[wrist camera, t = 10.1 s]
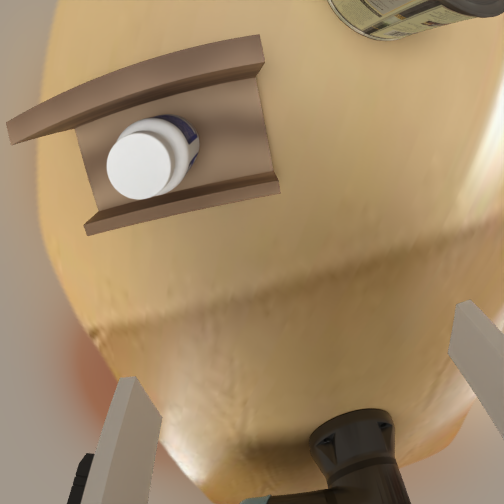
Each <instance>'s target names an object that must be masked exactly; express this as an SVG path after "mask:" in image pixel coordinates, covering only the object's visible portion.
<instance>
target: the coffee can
mask: <svg viewBox="0 0 504 504" xmlns="http://www.w3.org/2000/svg"><path fill="white" fill-rule="evenodd" d="M328 3H329V4H330V6H331V8H332V9H333V11H334V12H335V14H336V15H337V16H338V17H339V18H340V20H341V21H343V22H344V23H345V24H346V25H347V26H349V27H350V28H351V29H353V30H354V31H356V32H358V33H360V34H361V35H364V36H366V37H369V38H372V39H375V40H382V41H392V40H398V39H401V38H404V37H406V36H408V35H411V34H415V33H418V32H422V31H425V30H428V29H432V28H436V27H439V26H443V25H447V24H451V23H455V22H459V21H463V20H468V19H472V18H476V17H480V18H487V17H494V16H498V15H500V14H502V13H503V12H504V0H328Z"/></svg>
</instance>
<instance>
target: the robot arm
mask: <svg viewBox="0 0 504 504" xmlns="http://www.w3.org/2000/svg"><path fill="white" fill-rule="evenodd" d="M448 355H449V356H450V357H451V359H452V360H453V362H454V363H455V365H456V366H457V367H458V369H459V370H460V372H461V373H462V375H463V376H464V378H465V379H466V381H467V382H468V384H469V385H470V387H471V388H472V390H473V391H474V393H475V394H476V396H477V397H478V399H479V400H480V402H481V403H482V405H483V406H484V408H485V410H486V411H487V413H488V415H489V416H490V417H491V419H492V421H493V423H494V424H495V426H496V428H497V429H498V431H499V433H500V434H501V436H502V438H503V439H504V334H503V333H502V332H501V331H500V330H499V329H498V328H497V327H496V325H495V324H494V323H493V322H492V321H491V320H490V319H489V318H488V317H487V316H486V315H485V314H484V313H483V312H482V311H481V310H480V309H479V308H478V307H477V306H476V305H475V304H474V303H473V302H472V301H471V300H467V301H464V302H462V303H459V304H456V309H455V316H454V322H453V328H452V334H451V339H450V344H449V349H448ZM161 422H162V416H161V415H160V413H159V412H158V410H157V409H156V407H155V406H154V404H153V403H152V401H151V400H150V398H149V396H148V395H147V393H146V392H145V390H144V389H143V387H142V385H141V384H140V382H139V381H138V379H137V377H125V378H120V379H119V382H118V385H117V388H116V391H115V394H114V396H113V400H112V402H111V405H110V408H109V411H108V414H107V417H106V420H105V423H104V426H103V429H102V432H101V435H100V439H99V442H98V445H97V448H96V451H95V454H89V453H87V454H86V455H85V456H84V458H83V459H82V460H81V462H80V463H79V466H78V469H77V472H76V477H75V478H74V482H73V486H72V488H71V492H70V495H69V499H68V502H67V504H148V498H149V491H150V485H151V479H152V473H153V467H154V461H155V455H156V449H157V444H158V438H159V433H160V427H161ZM309 447H310V453H311V456H312V458H313V459H314V461H315V462H316V464H317V465H318V467H319V468H320V470H321V472H322V473H323V475H324V476H325V478H326V480H327V484H328V489H324V490H317V491H311V492H304V493H297V494H288V495H277V496H272V495H268V496H265V497H256V498H248V499H245V500H243V501H242V502H240V504H411V502H410V499H409V497H408V494H407V491H406V488H405V485H404V482H403V479H402V476H401V474H400V471H399V468H398V465H397V462H396V459H395V427H394V424H393V421H392V419H391V416H390V415H389V414H388V413H387V412H385V411H382V410H377V409H366V410H359V411H354V412H350V413H347V414H344V415H341V416H339V417H336V418H334V419H332V420H330V421H328V422H326V423H325V424H323V425H322V426H320V427H319V428H318V429H317V430H316V431H315V432H314V433H313V434H312V435H311V437H310V439H309Z"/></svg>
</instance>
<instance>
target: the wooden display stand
mask: <svg viewBox="0 0 504 504" xmlns="http://www.w3.org/2000/svg"><path fill="white" fill-rule="evenodd" d="M264 63H265V58H264V54H263V49H262V44H261V40H260V35H259V34H258V35H252V36H246V37H240V38H234V39H229V40H224V41H219V42H214V43H210V44H205V45H201V46H196V47H192V48H188V49H184V50H181V51H177V52H173V53H169V54H166V55H162V56H159V57H156V58H152V59H149V60H146V61H143V62H140V63H137V64H134V65H131V66H128V67H125V68H122V69H119V70H117V71H114V72H111V73H109V74H106V75H103V76H101V77H98V78H96V79H93V80H91V81H88V82H86V83H84V84H81V85H79V86H77V87H74V88H72V89H70V90H68V91H66V92H63V93H61V94H59V95H57V96H55V97H53V98H51V99H49V100H47V101H45V102H43V103H41V104H39V105H37V106H35V107H33V108H31V109H29V110H27V111H26V112H24V113H22V114H20V115H18V116H17V117H15V118H13V119H11V120H10V121H8V122H6V125H7V129H8V134H9V138H10V142H11V145H14V144H17V143H21V142H24V141H28V140H31V139H35V138H38V137H42V136H46V135H50V134H53V133H57V132H62V131H66V130H70V129H74V128H75V131H76V135H77V139H78V143H79V147H80V151H81V154H82V158H83V161H84V165H85V168H86V172H87V175H88V179H89V182H90V185H91V188H92V192H93V195H94V198H95V201H96V204H97V207H98V210H99V212H97V213H96V214H95V215H94V216H93V217H92V218H91V219H90V220H89V221H87V222H86V223H85V224H84V228H85V231H86V234H87V236H90V235H94V234H98V233H101V232H105V231H109V230H113V229H117V228H121V227H125V226H130V225H134V224H138V223H142V222H146V221H151V220H155V219H159V218H164V217H168V216H172V215H177V214H181V213H186V212H190V211H195V210H200V209H204V208H209V207H214V206H219V205H223V204H228V203H233V202H238V201H243V200H248V199H254V198H259V197H264V196H269V195H275V194H280V193H281V192H280V186H279V180H278V179H277V177H276V175H275V173H274V171H273V166H272V160H271V155H270V149H269V144H268V138H267V133H266V128H265V123H264V118H263V112H262V107H261V102H260V97H259V92H258V87H257V82H256V76H257V74H258V72H259V71H260V69H261V68H262V66H263V65H264ZM164 114H173V115H178V116H181V117H183V118H185V119H186V120H188V121H189V122H190V123H191V124H192V125H193V126H194V128H195V129H196V131H197V134H198V137H199V144H200V145H199V152H198V156H197V158H196V160H195V162H194V164H193V165H192V167H191V168H190V169H189V171H188V172H187V174H186V175H185V177H184V178H183V180H182V181H181V182H180V183H179V184H178V185H177V186H176V187H175V188H174V189H172V190H171V191H169V192H167V193H165V194H162V195H158V196H153V197H150V198H147V199H141V200H137V199H131V198H128V197H126V196H124V195H122V194H121V193H119V192H118V191H117V190H116V189H115V188H114V186H113V185H112V184H111V182H110V180H109V177H108V174H107V158H108V155H109V152H110V150H111V148H112V147H113V145H114V144H115V143H116V142H117V140H118V138H119V136H120V135H121V133H122V132H123V131H124V130H125V129H126V128H127V127H128V126H130V125H131V124H133V123H135V122H137V121H139V120H142V119H146V118H150V117H155V116H159V115H164Z"/></svg>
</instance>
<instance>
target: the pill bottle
mask: <svg viewBox="0 0 504 504" xmlns="http://www.w3.org/2000/svg"><path fill="white" fill-rule="evenodd" d="M199 145H200V144H199V137H198V134H197V131H196V129H195V128H194V126H193V125H192V124H191V123H190V122H189V121H188V120H186V119H185V118H183V117H181V116H178V115H173V114H164V115H159V116H155V117H150V118H146V119H142V120H139V121H137V122H135V123H133V124H131V125H130V126H128V127H127V128H126V129H125V130H124V131H123V132H122V133H121V135H120V136H119V138H118V140H117V142H116V143H115V144H114V145H113V147H112V148H111V150H110V152H109V155H108V158H107V174H108V177H109V180H110V182H111V184H112V185H113V186H114V188H115V189H116V190H117V191H118V192H119V193H121V194H122V195H124V196H126V197H128V198H131V199H137V200H141V199H147V198H150V197H153V196H158V195H162V194H165V193H167V192H169V191H171V190H172V189H174V188H175V187H176V186H177V185H178V184H179V183H180V182H181V181H182V180H183V178H184V177H185V175H186V174H187V172H188V171H189V169H190V168H191V167H192V165H193V164H194V162H195V160H196V158H197V156H198V152H199Z"/></svg>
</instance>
